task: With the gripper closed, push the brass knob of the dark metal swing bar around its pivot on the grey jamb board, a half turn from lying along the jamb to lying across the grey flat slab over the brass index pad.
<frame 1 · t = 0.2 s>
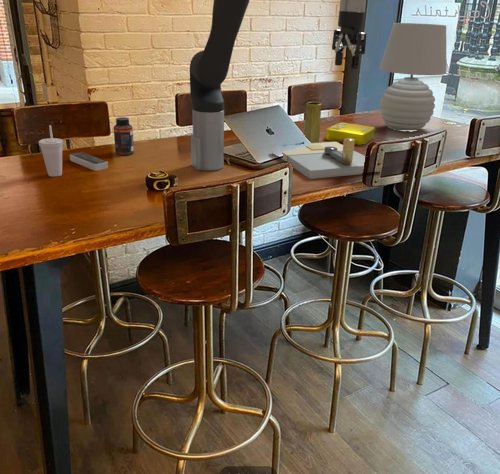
hand: (345, 67, 161), 29 cm above the table, tool pointing down, fingers open, 8 cm apart
multiport hub: (88, 166, 158), on the table
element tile: (349, 139, 197), on the table
smoothie: (55, 175, 147), on the table
latch arm: (339, 146, 159), point 7 cm above the table, hinge at 0.0°
vase: (310, 143, 189), on the table
table lamp: (403, 129, 214), on the table
grey flat slab: (326, 164, 165), on the table
supplement bottle: (125, 153, 169), on the table
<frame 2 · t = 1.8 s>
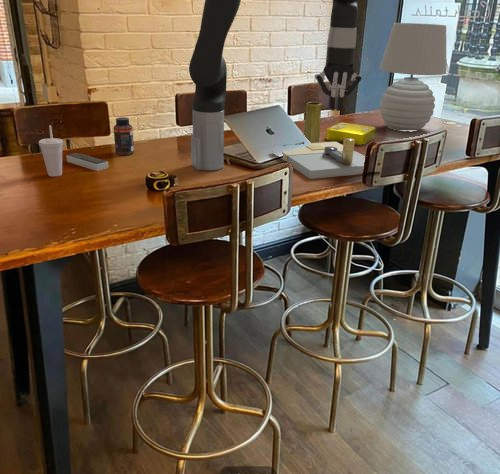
hand: (335, 110, 148), 19 cm above the table, tool pointing down, fingers closed
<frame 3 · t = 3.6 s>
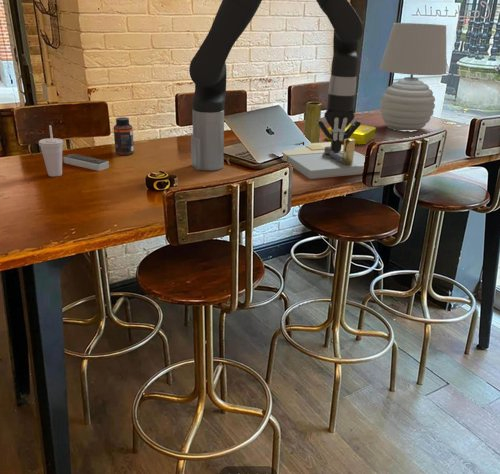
hand: (335, 152, 153), 7 cm above the table, tool pointing down, fingers closed
latch arm: (339, 146, 159), point 7 cm above the table, hinge at 1.2°, touching gripper
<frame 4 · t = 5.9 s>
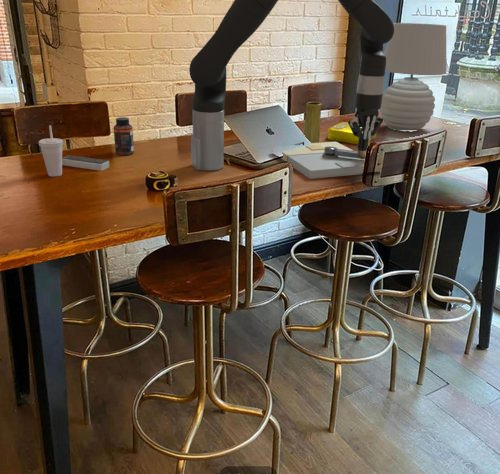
hand: (362, 150, 156), 7 cm above the table, tool pointing down, fingers closed
latch arm: (346, 144, 161), point 7 cm above the table, hinge at 49.1°, touching gripper
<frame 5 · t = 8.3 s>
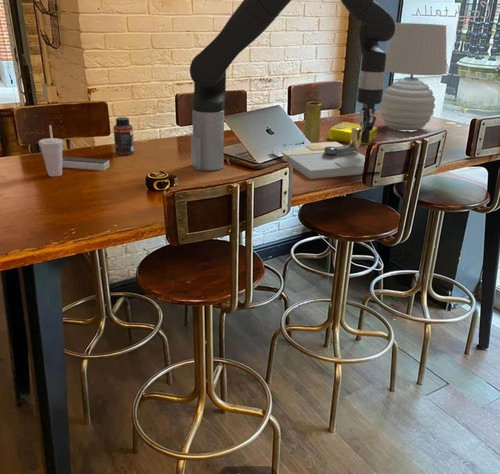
hand: (364, 142, 165), 7 cm above the table, tool pointing down, fingers closed
latch arm: (343, 141, 165), point 7 cm above the table, hinge at 101.4°, touching gripper
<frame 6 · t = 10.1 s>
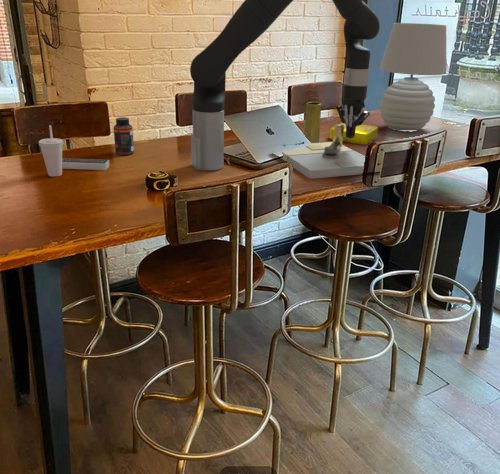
hand: (349, 137, 170), 7 cm above the table, tool pointing down, fingers closed
latch arm: (334, 139, 167), point 7 cm above the table, hinge at 138.7°, touching gripper
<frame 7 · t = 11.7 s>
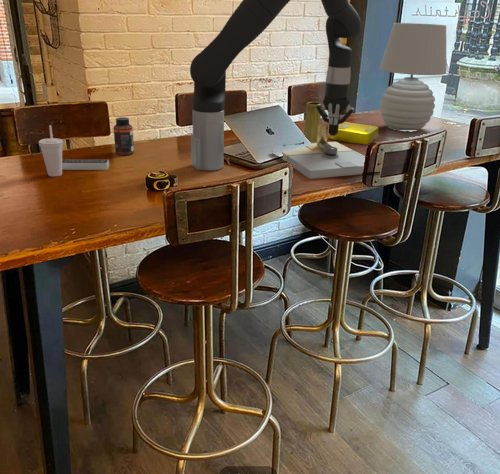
hand: (332, 135, 172), 7 cm above the table, tool pointing down, fingers closed
latch arm: (326, 139, 167), point 7 cm above the table, hinge at 169.1°, touching gripper
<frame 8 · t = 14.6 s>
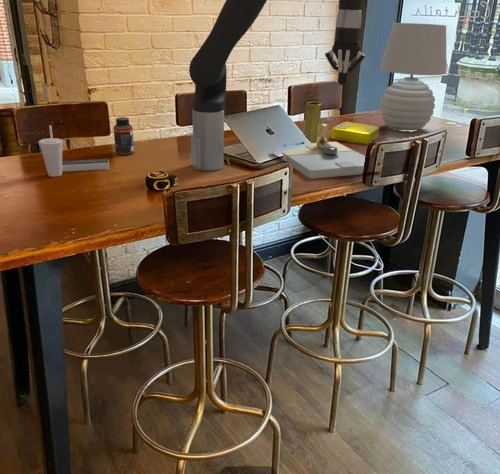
hand: (342, 84, 166), 23 cm above the table, tool pointing down, fingers closed
latch arm: (326, 139, 167), point 7 cm above the table, hinge at 169.4°
at the end: latch arm at +169° (first picture: +0°); latch arm touching nothing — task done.
